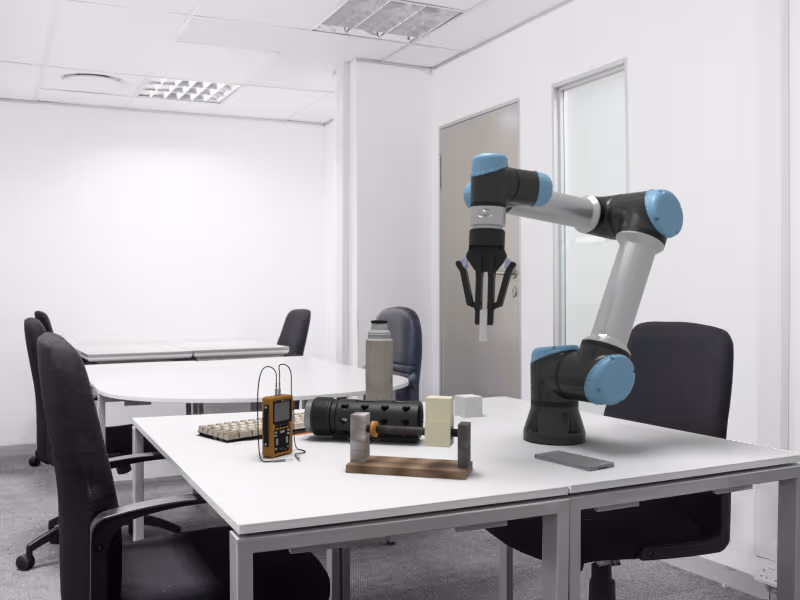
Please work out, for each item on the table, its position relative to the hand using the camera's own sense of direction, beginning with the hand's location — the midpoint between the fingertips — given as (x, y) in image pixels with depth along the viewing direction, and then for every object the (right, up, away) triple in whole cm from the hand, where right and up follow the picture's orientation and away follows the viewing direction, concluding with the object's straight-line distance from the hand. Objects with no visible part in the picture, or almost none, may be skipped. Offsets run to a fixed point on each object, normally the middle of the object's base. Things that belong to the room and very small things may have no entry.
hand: (483, 340), depth 164 cm
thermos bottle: (-24, -26, +64) cm, 73 cm away
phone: (+19, -27, +3) cm, 33 cm away
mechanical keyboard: (-50, -26, +39) cm, 68 cm away
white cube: (+3, -26, +66) cm, 71 cm away
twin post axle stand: (-15, -26, -6) cm, 31 cm away
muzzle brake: (-26, -26, +27) cm, 46 cm away
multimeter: (-41, -26, +7) cm, 49 cm away
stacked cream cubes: (-10, -20, -7) cm, 24 cm away
